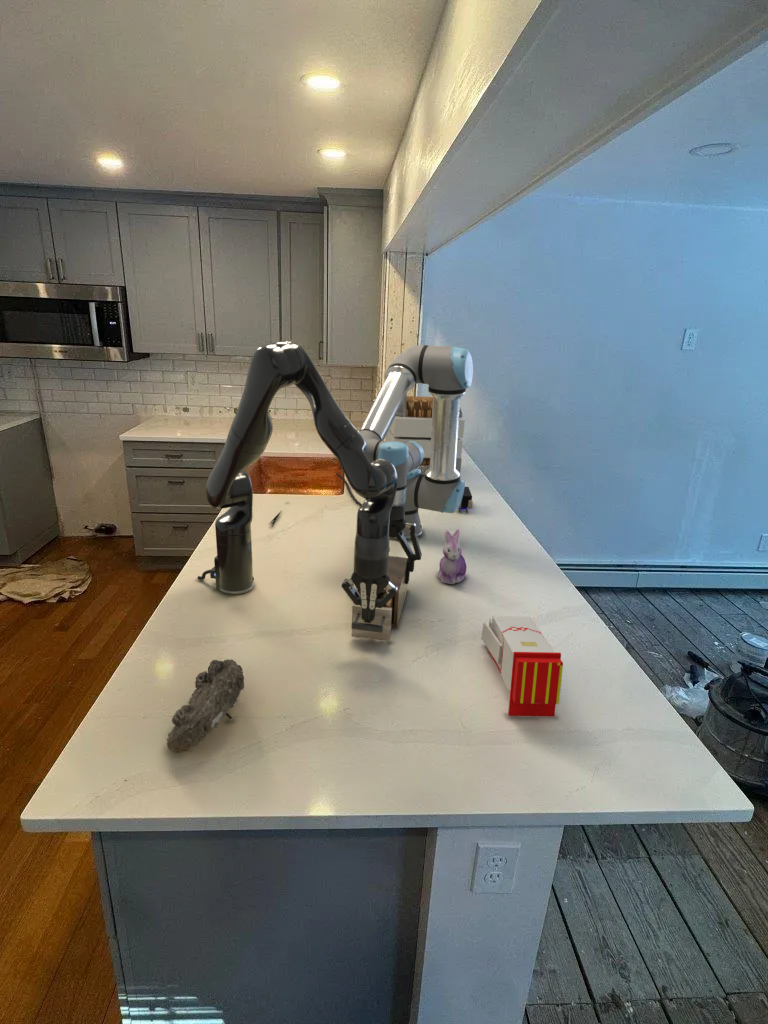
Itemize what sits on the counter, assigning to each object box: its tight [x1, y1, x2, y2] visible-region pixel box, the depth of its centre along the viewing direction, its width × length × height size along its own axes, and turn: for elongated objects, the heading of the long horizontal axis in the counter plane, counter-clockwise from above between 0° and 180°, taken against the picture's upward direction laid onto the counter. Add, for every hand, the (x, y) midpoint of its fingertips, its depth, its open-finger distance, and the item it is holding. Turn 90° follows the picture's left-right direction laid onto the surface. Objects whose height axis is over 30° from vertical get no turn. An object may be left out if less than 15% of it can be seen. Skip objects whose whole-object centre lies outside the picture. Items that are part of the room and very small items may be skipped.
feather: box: [268, 510, 282, 527], centre depth 212 cm, size 2×28×2 cm
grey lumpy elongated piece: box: [166, 658, 245, 754], centre depth 106 cm, size 22×10×15 cm
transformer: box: [384, 393, 465, 475], centre depth 268 cm, size 34×33×41 cm
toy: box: [481, 615, 564, 718], centre depth 123 cm, size 12×13×30 cm
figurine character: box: [458, 486, 474, 513], centre depth 227 cm, size 7×8×15 cm
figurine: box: [438, 528, 467, 585], centre depth 166 cm, size 9×10×15 cm
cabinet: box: [356, 555, 408, 628], centre depth 149 cm, size 20×10×10 cm, turn 171°
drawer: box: [350, 592, 395, 642], centre depth 139 cm, size 24×9×8 cm, turn 171°
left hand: (368, 620), depth 129 cm, fingers closed
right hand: (387, 579), depth 154 cm, fingers closed on cabinet, 10 cm apart
